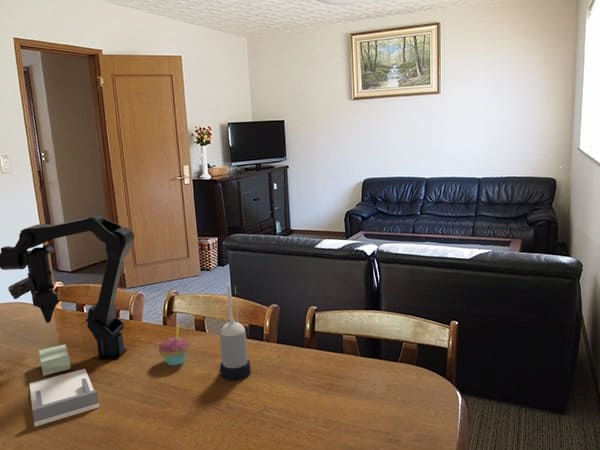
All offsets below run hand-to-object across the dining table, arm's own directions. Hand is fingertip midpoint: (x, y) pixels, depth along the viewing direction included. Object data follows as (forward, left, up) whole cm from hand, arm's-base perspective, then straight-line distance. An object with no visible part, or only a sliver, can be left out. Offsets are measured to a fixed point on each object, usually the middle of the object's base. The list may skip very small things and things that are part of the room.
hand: (47, 318), depth 148 cm
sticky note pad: (-5, +8, -12) cm, 15 cm away
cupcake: (-39, +5, -12) cm, 41 cm away
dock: (-16, +22, -13) cm, 30 cm away
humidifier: (-58, +12, -12) cm, 61 cm away
